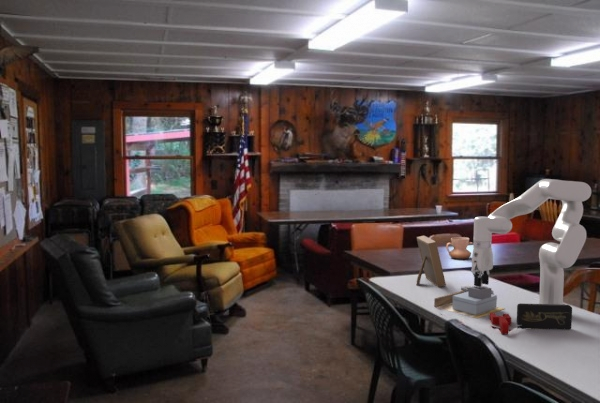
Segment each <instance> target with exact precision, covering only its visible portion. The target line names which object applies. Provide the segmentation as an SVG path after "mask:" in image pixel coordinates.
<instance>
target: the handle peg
mask: <svg viewBox="0 0 600 403" xmlns="http://www.w3.org/2000/svg"><path fill="white" fill-rule="evenodd" d="M480 278H481V287H479V286H476V288H477V289H481V290H482V289H483V286H484V285H483V284H482V275H481V277H480Z"/></svg>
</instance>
